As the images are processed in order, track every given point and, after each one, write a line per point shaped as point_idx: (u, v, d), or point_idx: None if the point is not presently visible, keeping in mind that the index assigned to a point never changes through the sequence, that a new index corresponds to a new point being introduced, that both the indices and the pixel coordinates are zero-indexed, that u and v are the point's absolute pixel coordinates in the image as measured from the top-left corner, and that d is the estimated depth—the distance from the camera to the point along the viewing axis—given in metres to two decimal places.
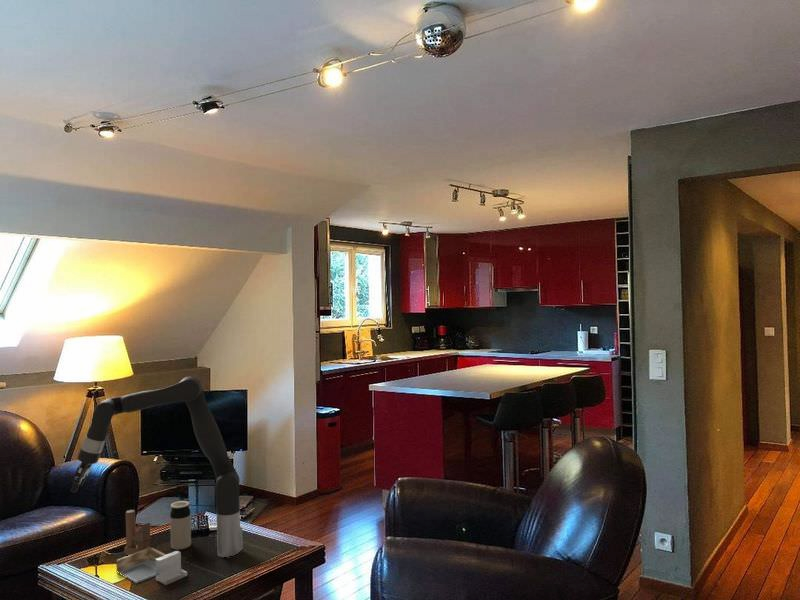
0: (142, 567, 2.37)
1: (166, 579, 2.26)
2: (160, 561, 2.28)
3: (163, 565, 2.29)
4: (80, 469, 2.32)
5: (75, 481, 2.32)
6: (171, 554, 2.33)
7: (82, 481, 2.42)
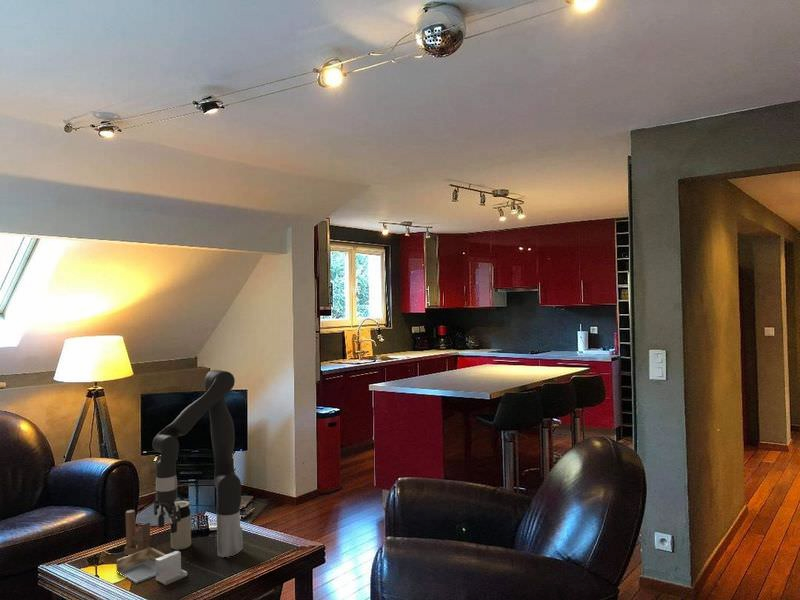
0: (142, 567, 2.37)
1: (166, 579, 2.26)
2: (160, 561, 2.28)
3: (163, 565, 2.29)
4: (177, 507, 2.27)
5: (177, 520, 2.27)
6: (171, 554, 2.33)
7: (163, 522, 2.34)
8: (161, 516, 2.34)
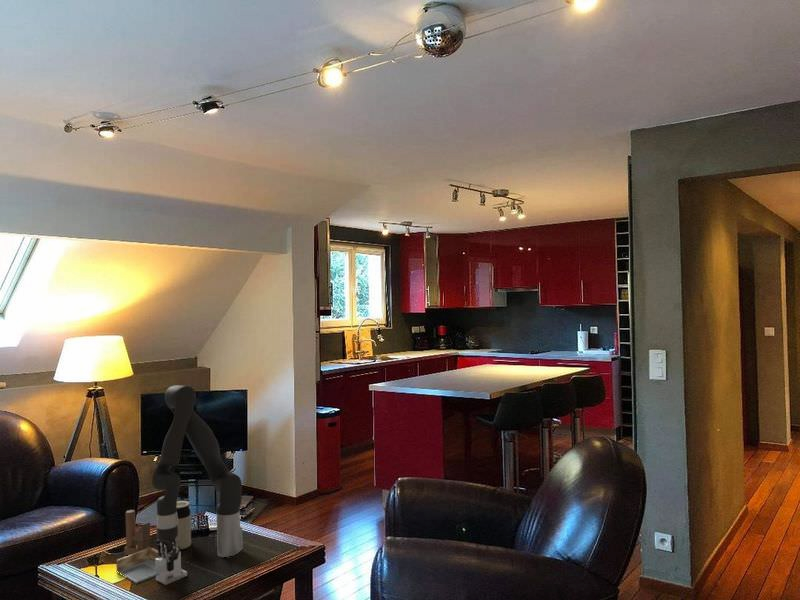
0: (142, 567, 2.37)
1: (166, 579, 2.26)
2: (160, 561, 2.28)
3: (163, 565, 2.29)
4: (177, 550, 2.28)
5: (174, 559, 2.29)
6: None
7: None
8: None
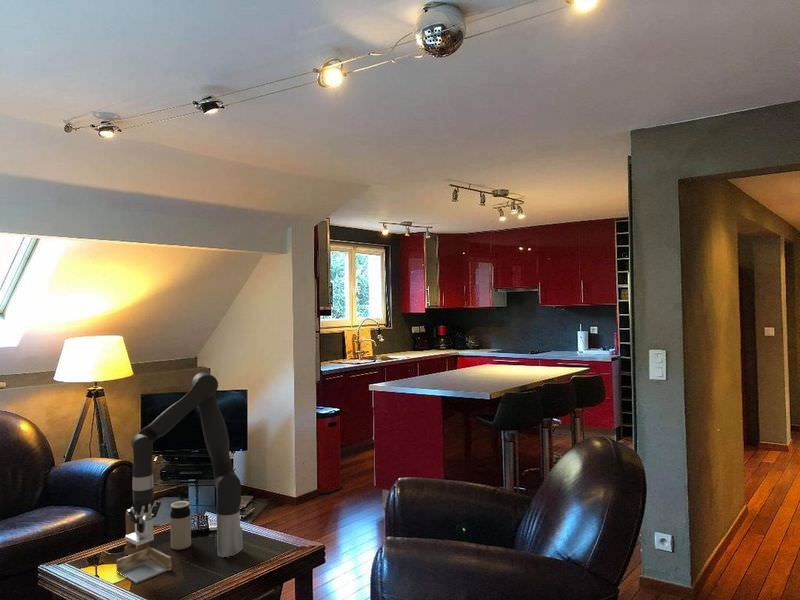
0: (142, 567, 2.37)
1: (127, 535, 2.34)
2: (135, 517, 2.36)
3: None
4: (127, 512, 2.30)
5: (133, 521, 2.32)
6: (145, 518, 2.34)
7: None
8: None
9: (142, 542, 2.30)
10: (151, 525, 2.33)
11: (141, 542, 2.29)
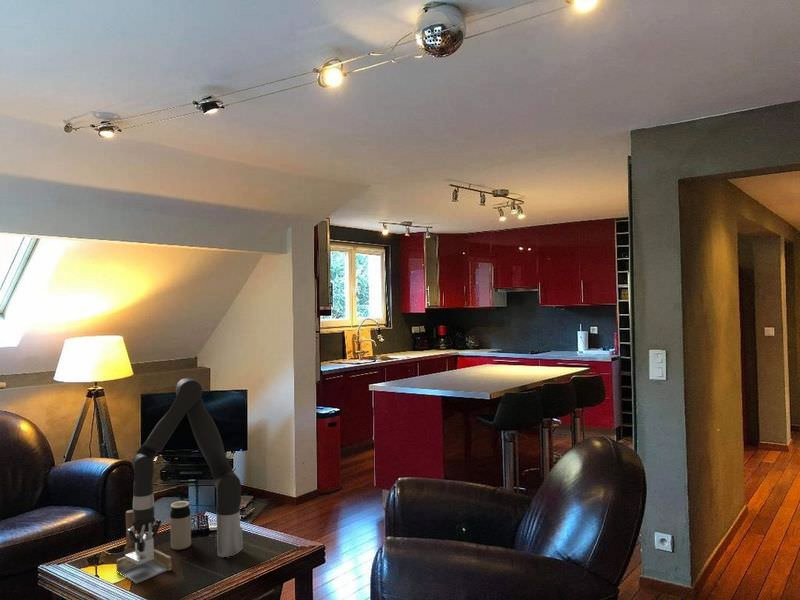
0: (142, 567, 2.37)
1: (127, 555, 2.34)
2: None
3: None
4: (127, 532, 2.30)
5: (133, 540, 2.32)
6: (145, 537, 2.34)
7: None
8: None
9: (142, 561, 2.30)
10: (151, 544, 2.33)
11: (141, 561, 2.30)
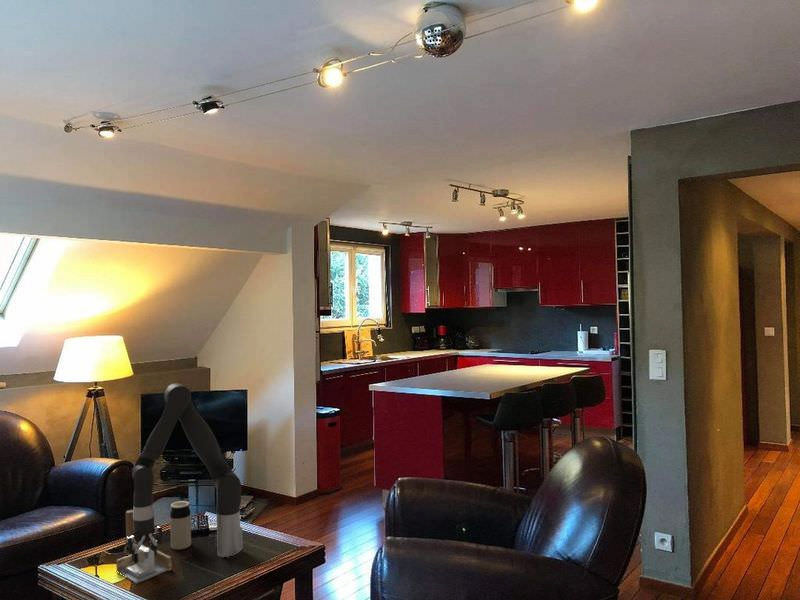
0: None
1: (128, 567, 2.34)
2: None
3: None
4: (127, 539, 2.30)
5: (128, 551, 2.30)
6: (146, 550, 2.34)
7: None
8: (152, 544, 2.38)
9: (143, 574, 2.30)
10: (152, 557, 2.33)
11: (142, 574, 2.30)
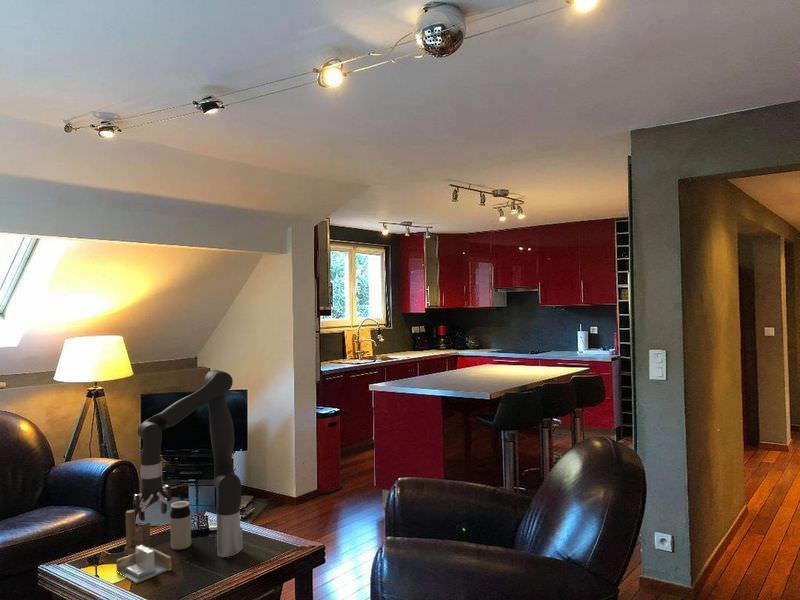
0: None
1: (128, 567, 2.34)
2: (136, 548, 2.37)
3: (137, 554, 2.36)
4: (135, 496, 2.27)
5: (134, 509, 2.27)
6: (146, 550, 2.34)
7: (163, 509, 2.35)
8: (162, 502, 2.36)
9: (143, 574, 2.30)
10: (152, 557, 2.33)
11: (142, 574, 2.30)
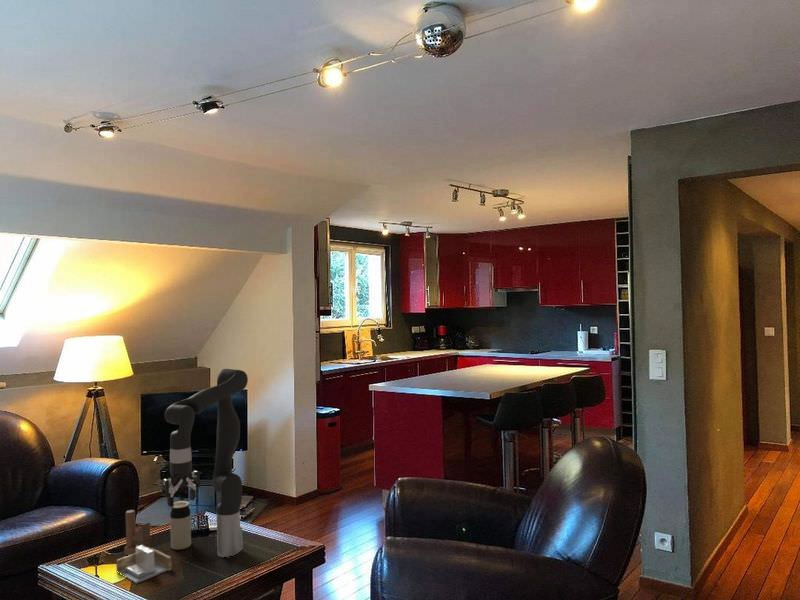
0: None
1: (128, 567, 2.34)
2: (136, 548, 2.37)
3: (137, 554, 2.36)
4: (164, 481, 2.19)
5: (163, 494, 2.19)
6: (146, 550, 2.34)
7: (192, 495, 2.27)
8: (191, 489, 2.28)
9: (143, 574, 2.30)
10: (152, 557, 2.33)
11: (142, 574, 2.30)
